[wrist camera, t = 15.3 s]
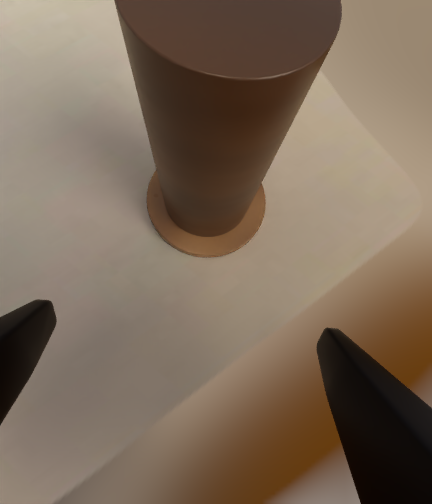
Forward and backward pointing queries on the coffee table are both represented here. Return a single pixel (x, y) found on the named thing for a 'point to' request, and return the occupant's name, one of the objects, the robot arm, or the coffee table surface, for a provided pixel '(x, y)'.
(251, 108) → the brown cylinder
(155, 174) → the coaster
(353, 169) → the coffee table surface
